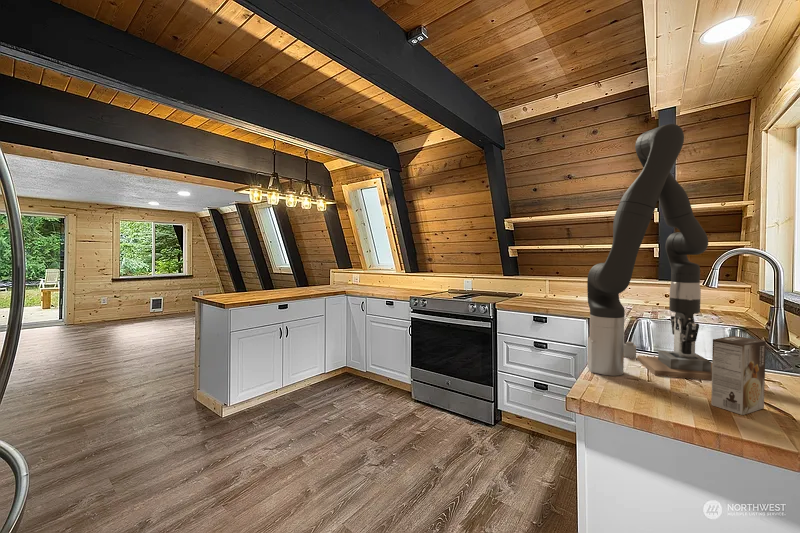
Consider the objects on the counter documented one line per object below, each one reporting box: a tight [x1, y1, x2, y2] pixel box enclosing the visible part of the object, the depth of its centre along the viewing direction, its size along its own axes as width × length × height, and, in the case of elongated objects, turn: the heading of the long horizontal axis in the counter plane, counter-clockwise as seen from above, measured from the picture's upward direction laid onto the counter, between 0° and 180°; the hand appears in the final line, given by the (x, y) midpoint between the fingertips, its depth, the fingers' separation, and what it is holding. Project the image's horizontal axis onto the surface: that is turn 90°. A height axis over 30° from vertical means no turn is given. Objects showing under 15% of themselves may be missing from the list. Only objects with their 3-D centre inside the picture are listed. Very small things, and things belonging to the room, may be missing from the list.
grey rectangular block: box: [624, 341, 637, 359], centre depth 129 cm, size 7×2×8 cm, turn 55°
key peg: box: [673, 329, 696, 359], centre depth 113 cm, size 4×4×10 cm
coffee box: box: [710, 335, 767, 416], centre depth 86 cm, size 9×6×16 cm
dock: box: [636, 349, 712, 381], centre depth 114 cm, size 20×16×4 cm
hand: (683, 351), depth 113 cm, fingers closed on key peg, 3 cm apart
